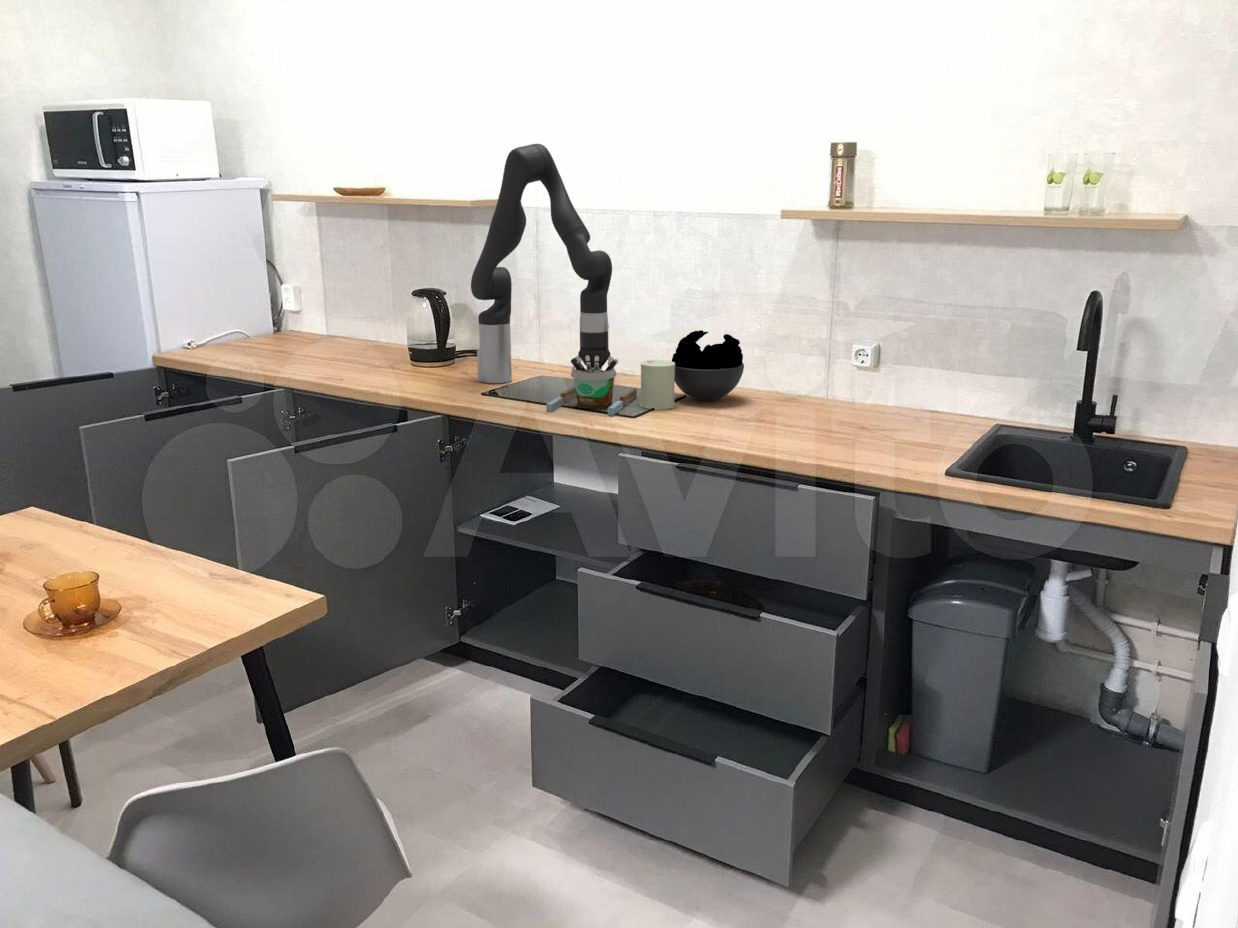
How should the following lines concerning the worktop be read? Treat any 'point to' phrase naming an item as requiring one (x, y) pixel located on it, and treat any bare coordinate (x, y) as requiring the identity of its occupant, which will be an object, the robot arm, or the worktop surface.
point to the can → (657, 384)
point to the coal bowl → (707, 367)
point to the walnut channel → (625, 397)
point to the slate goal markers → (559, 402)
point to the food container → (593, 387)
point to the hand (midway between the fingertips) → (594, 393)
